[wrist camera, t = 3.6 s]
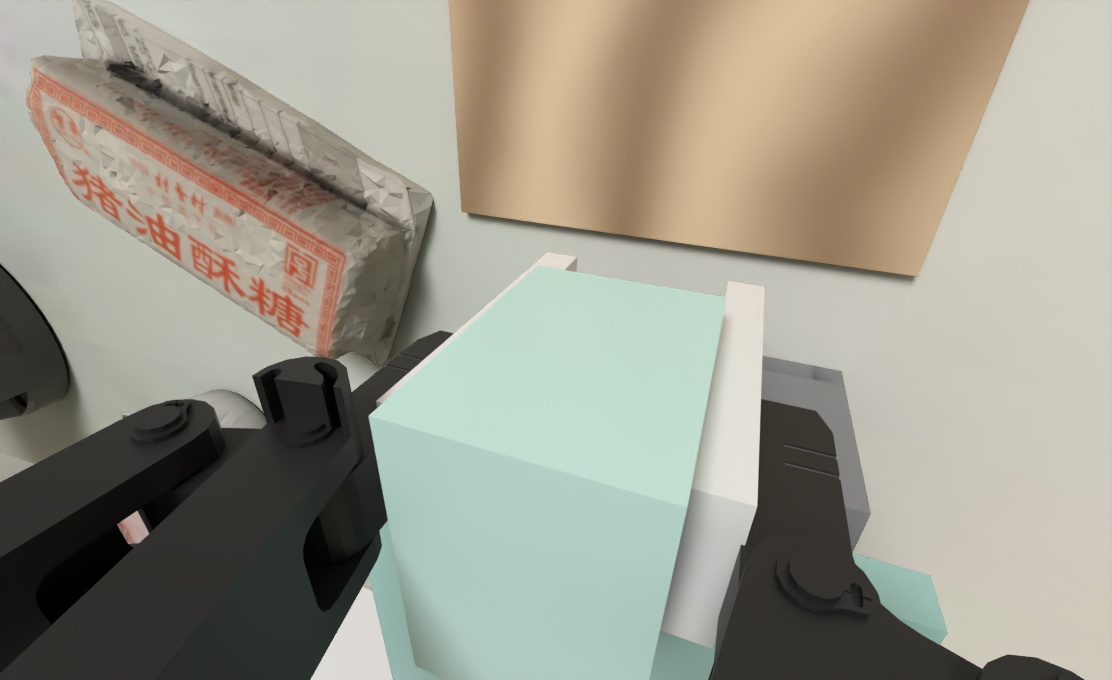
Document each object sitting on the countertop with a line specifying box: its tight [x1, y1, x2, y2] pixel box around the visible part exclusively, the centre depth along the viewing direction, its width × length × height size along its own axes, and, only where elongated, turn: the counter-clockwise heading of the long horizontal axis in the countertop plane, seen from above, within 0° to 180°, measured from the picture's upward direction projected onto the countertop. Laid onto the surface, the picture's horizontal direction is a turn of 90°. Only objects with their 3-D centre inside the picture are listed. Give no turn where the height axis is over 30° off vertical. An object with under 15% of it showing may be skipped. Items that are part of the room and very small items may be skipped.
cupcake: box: [117, 390, 267, 544], centre depth 30 cm, size 9×9×10 cm
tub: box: [761, 356, 871, 552], centre depth 21 cm, size 12×14×7 cm
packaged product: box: [26, 0, 433, 367], centre depth 23 cm, size 18×5×10 cm
